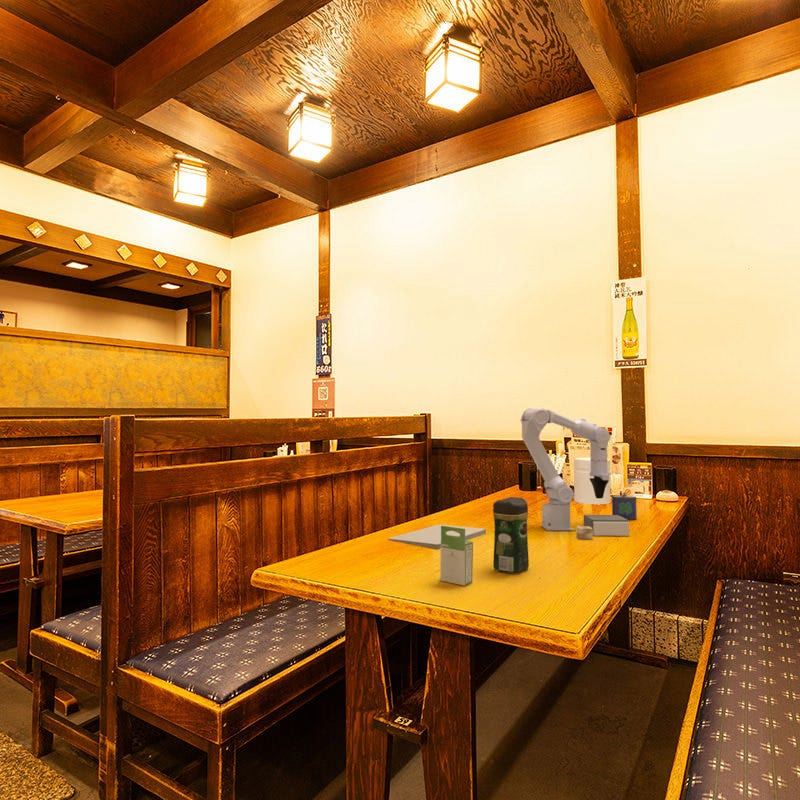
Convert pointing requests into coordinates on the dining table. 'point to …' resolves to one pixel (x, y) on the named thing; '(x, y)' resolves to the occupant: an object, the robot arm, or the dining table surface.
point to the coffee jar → (510, 535)
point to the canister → (588, 483)
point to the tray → (611, 528)
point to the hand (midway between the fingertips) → (599, 498)
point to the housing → (602, 519)
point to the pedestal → (584, 533)
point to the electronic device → (435, 536)
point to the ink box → (456, 557)
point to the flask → (624, 506)
